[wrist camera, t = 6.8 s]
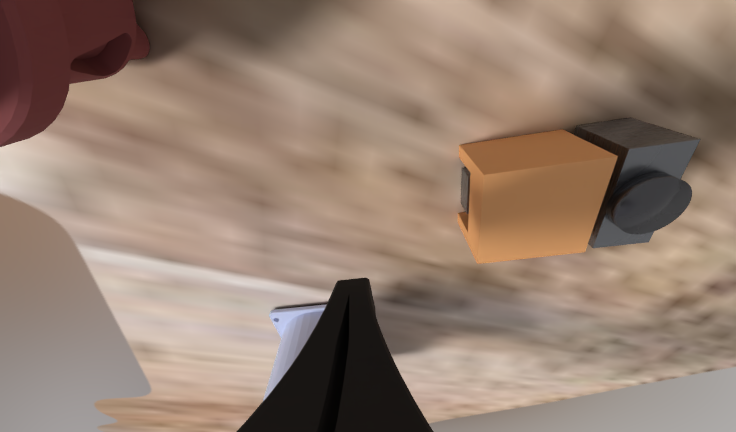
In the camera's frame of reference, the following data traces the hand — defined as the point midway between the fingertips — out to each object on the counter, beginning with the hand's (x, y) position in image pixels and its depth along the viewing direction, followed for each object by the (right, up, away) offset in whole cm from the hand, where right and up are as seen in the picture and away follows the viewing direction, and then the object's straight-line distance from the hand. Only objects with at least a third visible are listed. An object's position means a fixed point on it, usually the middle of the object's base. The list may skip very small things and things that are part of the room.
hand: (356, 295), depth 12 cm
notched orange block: (+9, +6, +6) cm, 13 cm away
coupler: (+11, +6, +6) cm, 14 cm away
